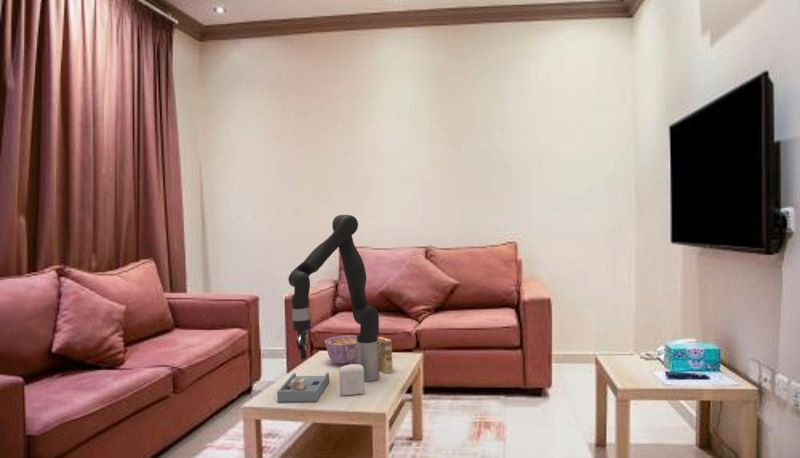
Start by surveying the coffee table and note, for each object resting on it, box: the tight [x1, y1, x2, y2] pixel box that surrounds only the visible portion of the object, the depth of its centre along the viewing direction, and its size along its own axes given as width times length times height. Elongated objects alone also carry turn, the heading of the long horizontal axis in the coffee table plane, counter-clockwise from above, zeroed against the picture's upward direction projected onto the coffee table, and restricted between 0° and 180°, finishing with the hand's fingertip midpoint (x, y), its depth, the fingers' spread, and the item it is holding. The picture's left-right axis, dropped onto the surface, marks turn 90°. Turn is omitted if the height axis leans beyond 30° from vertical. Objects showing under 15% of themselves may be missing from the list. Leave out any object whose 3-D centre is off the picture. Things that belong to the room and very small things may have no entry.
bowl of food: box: [324, 334, 358, 366], centre depth 292 cm, size 20×20×12 cm
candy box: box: [377, 336, 394, 374], centre depth 276 cm, size 9×4×15 cm, turn 33°
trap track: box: [276, 372, 330, 403], centre depth 249 cm, size 16×26×4 cm, turn 176°
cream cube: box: [290, 378, 306, 391], centre depth 239 cm, size 5×5×5 cm
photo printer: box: [339, 363, 365, 397], centre depth 244 cm, size 10×4×12 cm, turn 103°
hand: (303, 358), depth 248 cm, fingers closed
